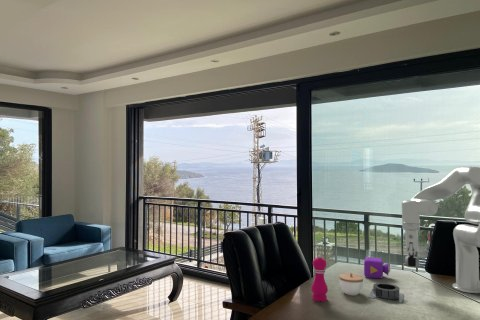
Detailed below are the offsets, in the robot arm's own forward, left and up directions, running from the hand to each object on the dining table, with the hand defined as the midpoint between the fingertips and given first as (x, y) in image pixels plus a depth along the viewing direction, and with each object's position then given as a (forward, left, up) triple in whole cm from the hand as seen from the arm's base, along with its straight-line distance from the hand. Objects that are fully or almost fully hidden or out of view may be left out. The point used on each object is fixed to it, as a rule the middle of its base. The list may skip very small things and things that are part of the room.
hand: (412, 263), depth 168 cm
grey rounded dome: (0, 0, -1) cm, 1 cm away
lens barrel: (+10, +10, -14) cm, 20 cm away
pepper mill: (+36, +29, -14) cm, 49 cm away
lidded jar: (+25, +14, -14) cm, 32 cm away
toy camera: (+18, -20, -14) cm, 30 cm away
